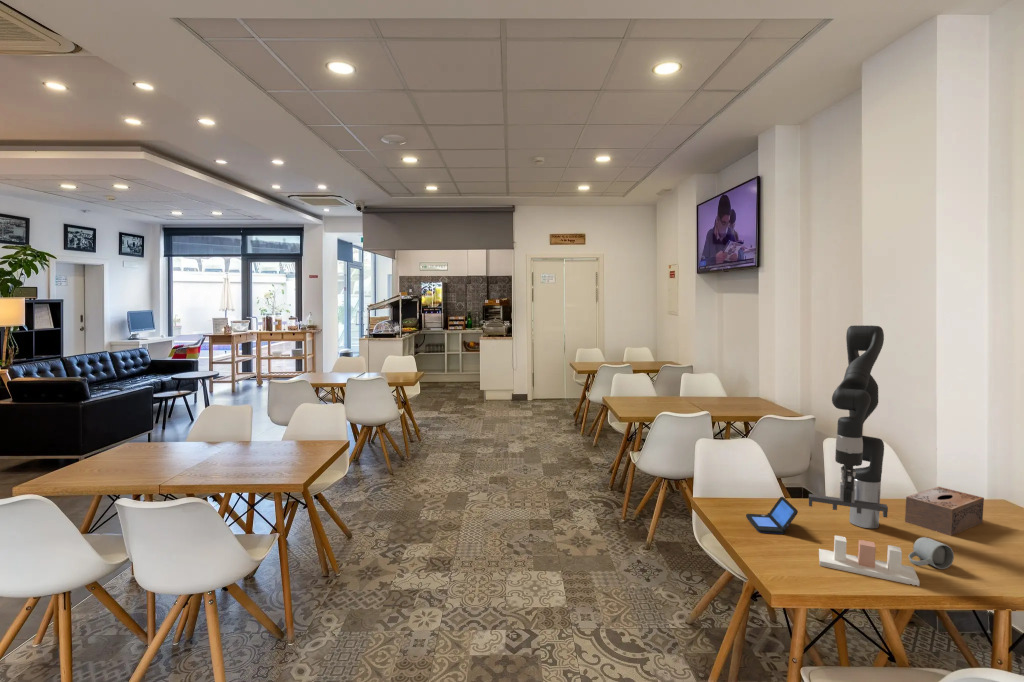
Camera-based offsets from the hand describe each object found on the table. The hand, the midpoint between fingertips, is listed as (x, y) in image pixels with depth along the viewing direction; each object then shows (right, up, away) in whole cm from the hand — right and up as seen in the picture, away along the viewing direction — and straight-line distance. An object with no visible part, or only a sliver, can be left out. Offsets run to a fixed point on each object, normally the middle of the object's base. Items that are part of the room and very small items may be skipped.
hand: (846, 500), depth 176 cm
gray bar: (0, -4, 0) cm, 4 cm away
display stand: (-2, -18, -12) cm, 21 cm away
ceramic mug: (+21, -18, -8) cm, 29 cm away
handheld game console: (-15, -16, +21) cm, 31 cm away
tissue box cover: (+54, -17, +26) cm, 62 cm away
